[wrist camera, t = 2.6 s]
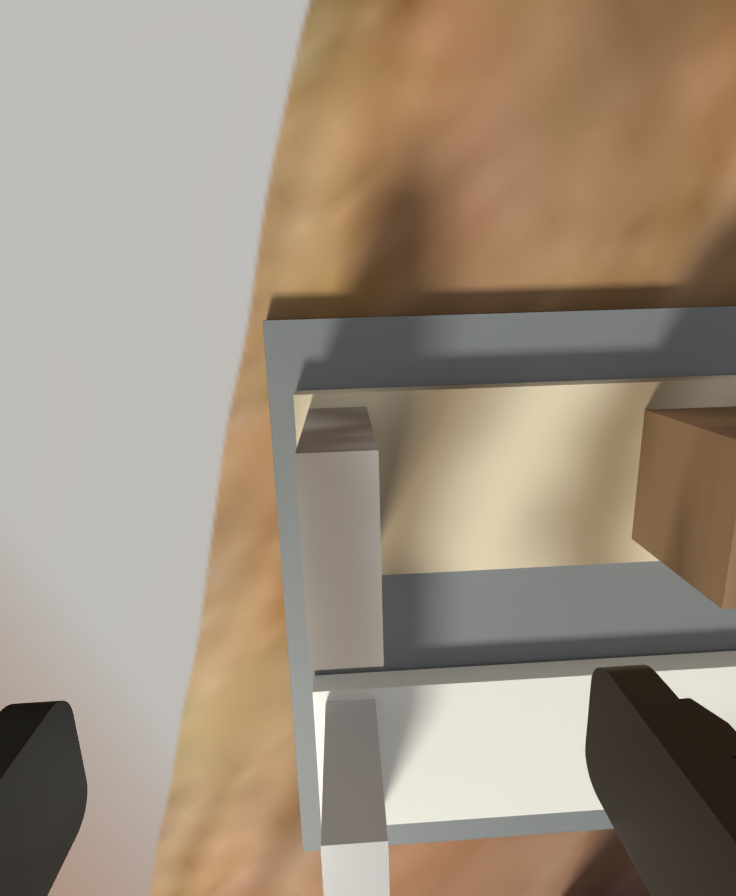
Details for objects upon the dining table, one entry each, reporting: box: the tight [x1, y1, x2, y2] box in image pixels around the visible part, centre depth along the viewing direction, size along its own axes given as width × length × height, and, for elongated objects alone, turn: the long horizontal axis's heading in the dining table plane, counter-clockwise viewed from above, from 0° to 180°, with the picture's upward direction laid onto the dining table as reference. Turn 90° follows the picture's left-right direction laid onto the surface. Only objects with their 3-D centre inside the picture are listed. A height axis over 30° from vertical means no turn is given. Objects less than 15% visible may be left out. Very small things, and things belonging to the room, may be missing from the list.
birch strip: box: [293, 375, 736, 671], centre depth 17 cm, size 24×7×7 cm, turn 92°
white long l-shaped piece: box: [313, 651, 736, 896], centre depth 20 cm, size 24×7×7 cm, turn 92°
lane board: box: [263, 306, 736, 851], centre depth 23 cm, size 36×24×1 cm, turn 92°
